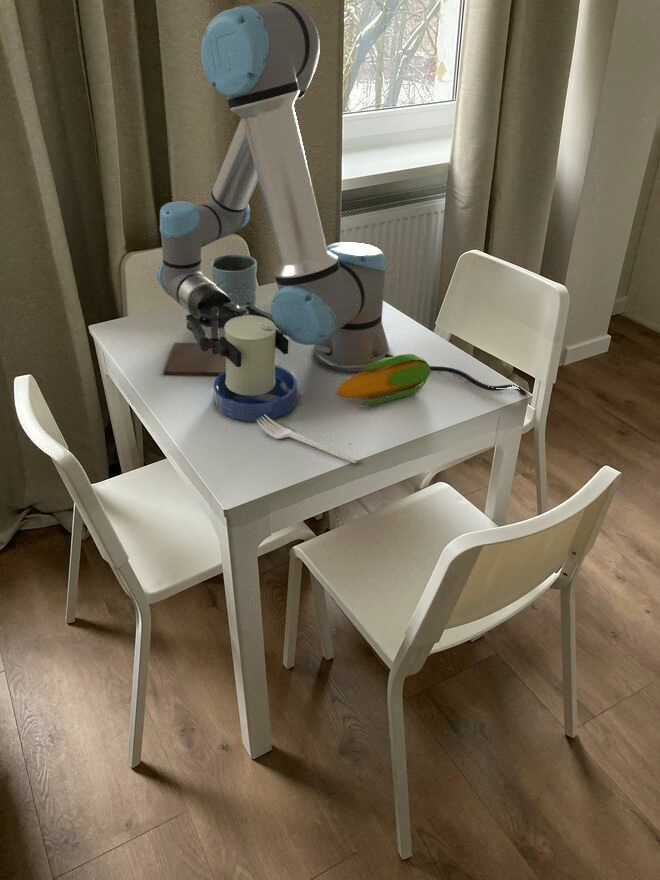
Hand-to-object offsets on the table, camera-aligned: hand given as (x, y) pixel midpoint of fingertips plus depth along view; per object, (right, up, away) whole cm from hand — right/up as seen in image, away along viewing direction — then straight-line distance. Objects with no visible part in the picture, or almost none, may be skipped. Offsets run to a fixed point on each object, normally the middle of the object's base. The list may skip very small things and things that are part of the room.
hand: (263, 353), depth 130 cm
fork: (+8, -16, -2) cm, 18 cm away
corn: (+22, -7, +11) cm, 26 cm away
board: (-12, +1, +22) cm, 25 cm away
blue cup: (-10, +14, +40) cm, 43 cm away
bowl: (-2, -8, +10) cm, 12 cm away
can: (-3, -5, +8) cm, 10 cm away
